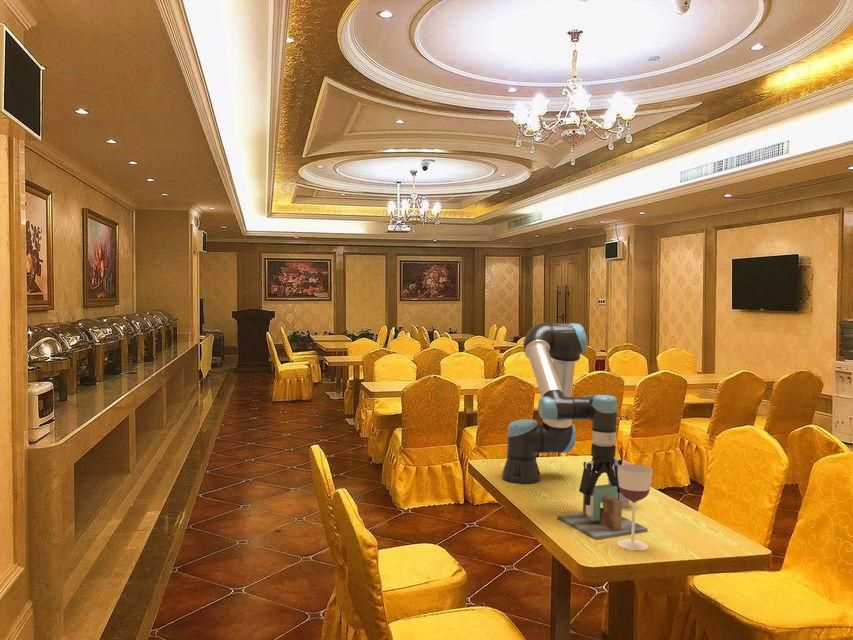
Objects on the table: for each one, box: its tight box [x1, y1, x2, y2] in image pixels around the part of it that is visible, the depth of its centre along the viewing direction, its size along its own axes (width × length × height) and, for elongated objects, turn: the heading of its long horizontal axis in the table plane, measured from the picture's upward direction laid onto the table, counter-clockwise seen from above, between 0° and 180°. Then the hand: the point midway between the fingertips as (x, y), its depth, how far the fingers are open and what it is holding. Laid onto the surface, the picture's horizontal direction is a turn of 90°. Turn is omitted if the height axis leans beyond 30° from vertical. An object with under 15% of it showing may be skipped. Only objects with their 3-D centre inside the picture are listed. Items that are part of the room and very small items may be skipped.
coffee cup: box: [607, 460, 632, 509], centre depth 231 cm, size 10×10×15 cm
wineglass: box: [617, 463, 654, 551], centre depth 194 cm, size 9×10×23 cm
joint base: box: [556, 493, 648, 541], centre depth 211 cm, size 20×20×10 cm
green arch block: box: [587, 483, 617, 521], centre depth 211 cm, size 4×9×10 cm, turn 114°
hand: (601, 512), depth 211 cm, fingers closed on green arch block, 9 cm apart
